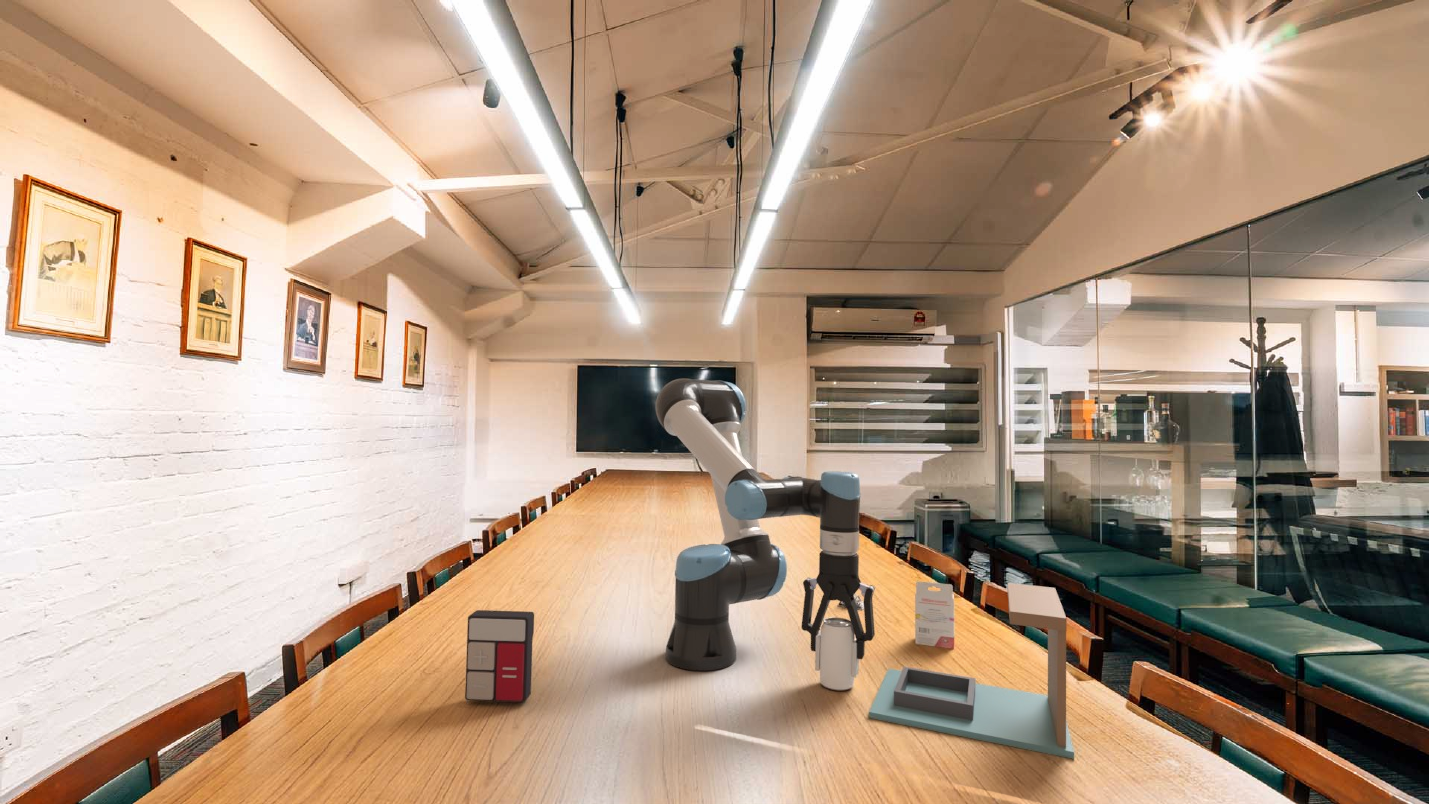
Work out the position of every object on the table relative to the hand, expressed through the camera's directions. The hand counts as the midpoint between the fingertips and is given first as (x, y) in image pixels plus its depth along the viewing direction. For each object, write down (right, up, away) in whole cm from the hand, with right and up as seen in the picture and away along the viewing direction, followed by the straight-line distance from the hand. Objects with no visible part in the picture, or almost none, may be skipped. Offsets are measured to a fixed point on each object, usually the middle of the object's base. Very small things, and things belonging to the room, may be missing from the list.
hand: (836, 671), depth 124 cm
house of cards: (+16, -6, +54) cm, 56 cm away
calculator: (-63, -1, -9) cm, 63 cm away
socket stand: (+22, -3, -10) cm, 24 cm away
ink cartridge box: (+27, -4, +25) cm, 37 cm away
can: (0, -3, 0) cm, 3 cm away
